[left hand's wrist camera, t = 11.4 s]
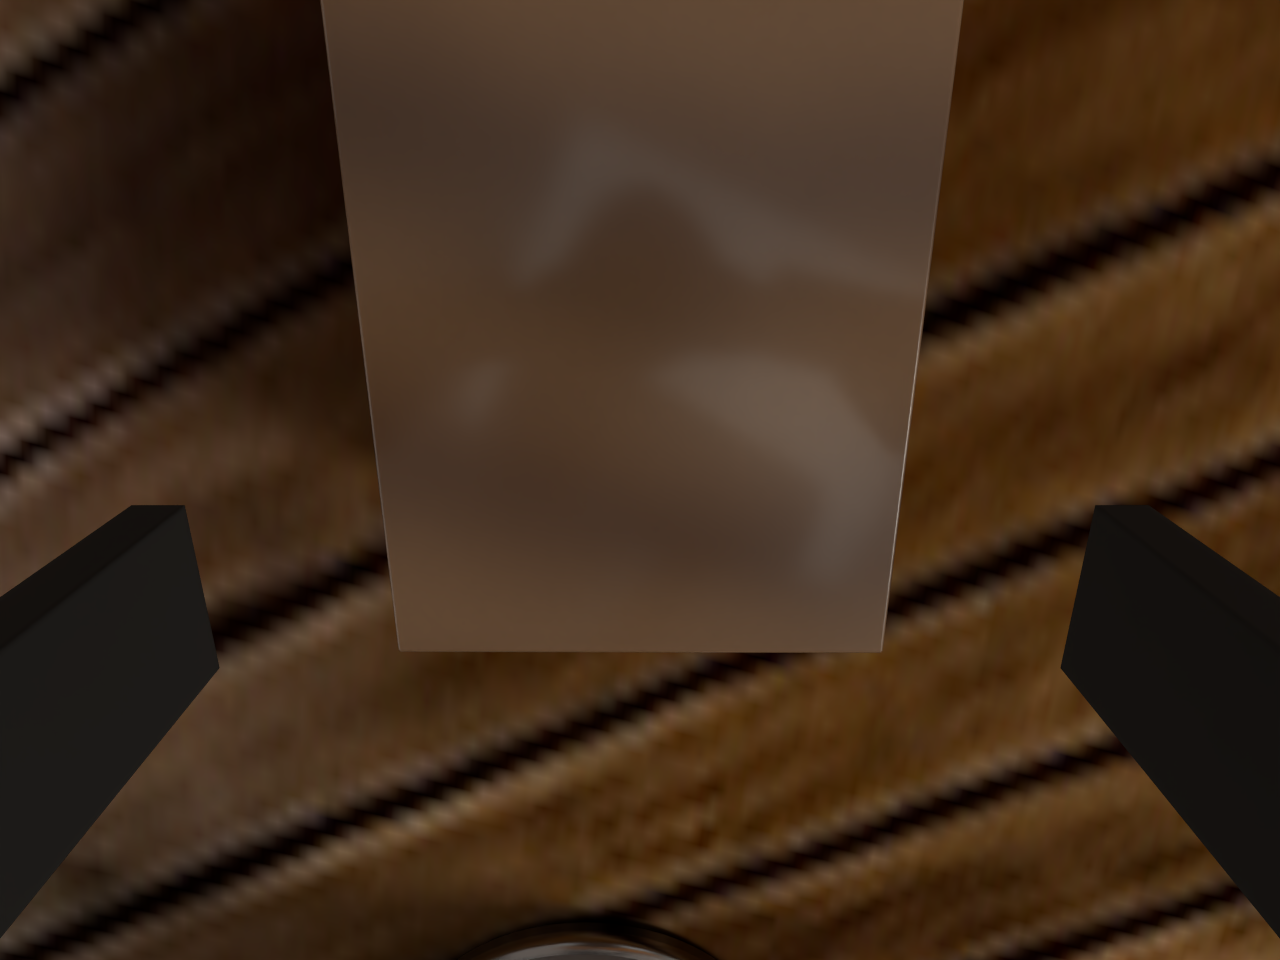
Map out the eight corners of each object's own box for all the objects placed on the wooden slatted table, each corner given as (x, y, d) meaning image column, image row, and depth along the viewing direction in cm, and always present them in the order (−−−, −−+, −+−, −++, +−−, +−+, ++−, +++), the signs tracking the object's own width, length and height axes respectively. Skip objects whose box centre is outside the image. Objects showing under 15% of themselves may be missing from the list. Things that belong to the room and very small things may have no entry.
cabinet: (405, -349, 19) (231, -713, 11) (879, -348, 19) (1054, -712, 11) (471, 500, 26) (397, 653, 18) (810, 500, 26) (883, 654, 18)
